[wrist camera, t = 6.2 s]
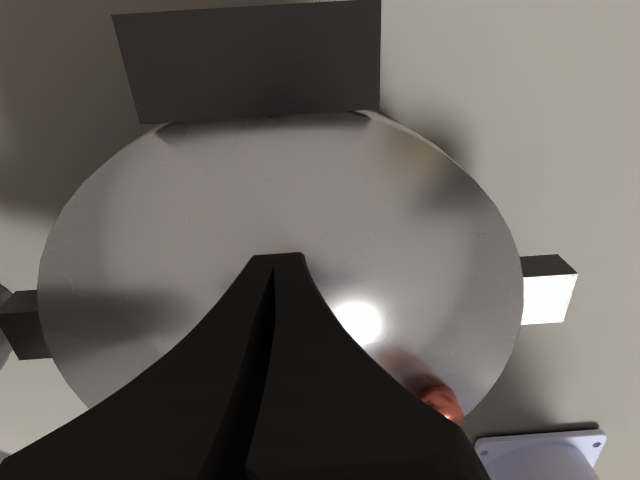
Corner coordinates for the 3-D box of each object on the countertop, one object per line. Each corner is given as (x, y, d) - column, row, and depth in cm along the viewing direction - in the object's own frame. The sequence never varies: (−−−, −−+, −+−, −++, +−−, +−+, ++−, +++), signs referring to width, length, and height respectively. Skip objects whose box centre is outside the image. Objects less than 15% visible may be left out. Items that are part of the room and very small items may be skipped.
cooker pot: (482, 338, 21) (536, 435, 16) (122, 364, 21) (70, 469, 16) (535, 69, 15) (650, 98, 10) (15, 101, 14) (-127, 147, 10)
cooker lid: (474, 439, 16) (494, 488, 15) (133, 465, 16) (114, 517, 14) (572, -12, 9) (636, -18, 7) (-73, 26, 8) (-163, 30, 7)
